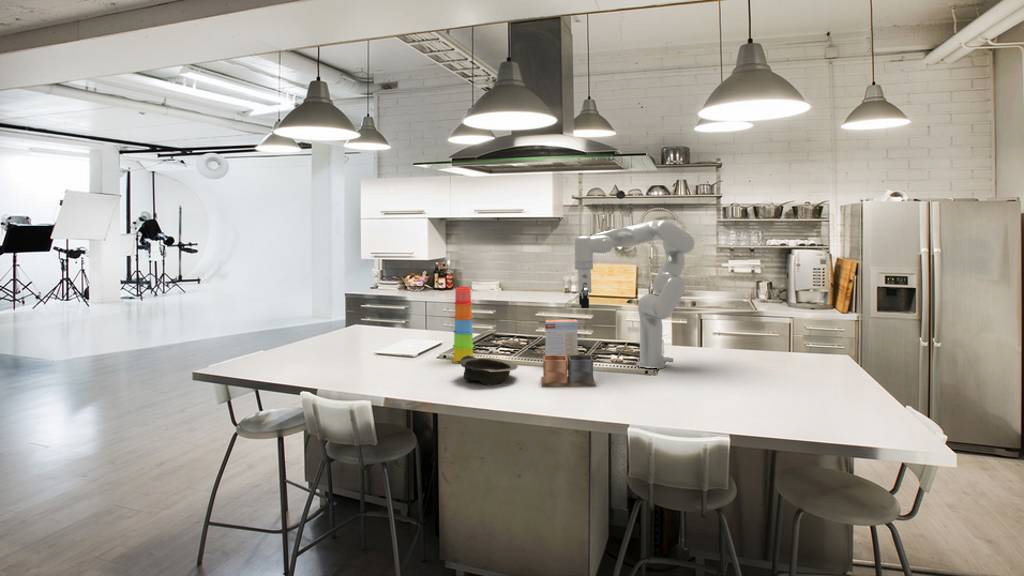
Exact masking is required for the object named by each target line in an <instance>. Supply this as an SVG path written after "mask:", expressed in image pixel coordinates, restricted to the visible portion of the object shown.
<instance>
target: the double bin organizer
mask: <svg viewBox="0 0 1024 576" xmlns="http://www.w3.org/2000/svg"><path fill="white" fill-rule="evenodd" d="M542 361H543V362H542V366H543V367H542V368H543V369H542V371H543V372H542V373H543V375H542V376H540V381H541V382H540V383H541V387H542V388H553V387H554V388H555V387H556V388H558V387H559V388H562V387H565V388H566V387H569V388H570V387H571V388H573V387H575V388H577V387H580V388H582V387H597V384H596V380H595V378H594V360H593V357H592V355H591V354H578V355H568V368H567V357H566V355H546V354H545V355H542Z"/></svg>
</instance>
